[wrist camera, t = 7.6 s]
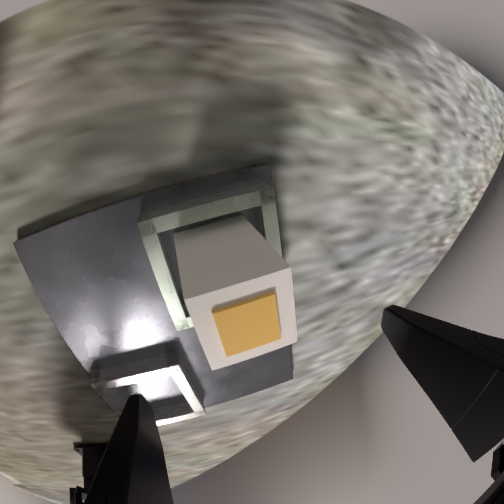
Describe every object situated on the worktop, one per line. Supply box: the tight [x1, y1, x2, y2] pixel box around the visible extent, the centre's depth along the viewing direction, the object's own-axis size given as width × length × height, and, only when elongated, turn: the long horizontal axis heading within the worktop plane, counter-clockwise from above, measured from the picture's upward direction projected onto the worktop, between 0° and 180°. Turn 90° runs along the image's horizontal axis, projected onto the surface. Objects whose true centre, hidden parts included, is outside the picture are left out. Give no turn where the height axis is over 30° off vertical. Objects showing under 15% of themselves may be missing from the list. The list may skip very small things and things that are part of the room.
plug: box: [174, 215, 297, 371], centre depth 13 cm, size 4×4×7 cm
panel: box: [13, 163, 293, 426], centre depth 18 cm, size 19×16×2 cm
